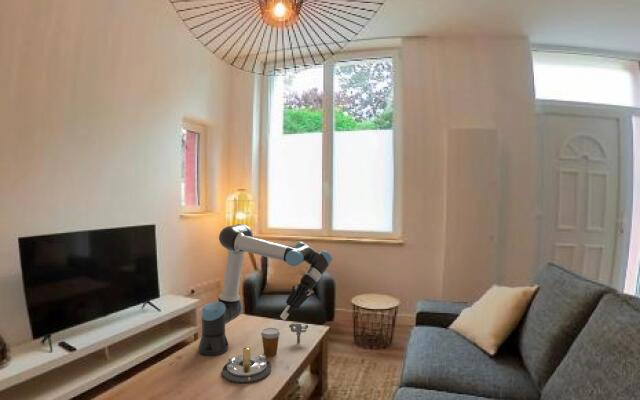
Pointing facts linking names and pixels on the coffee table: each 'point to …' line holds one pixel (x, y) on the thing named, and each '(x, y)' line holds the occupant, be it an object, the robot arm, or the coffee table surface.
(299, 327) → the mechanical component
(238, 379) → the base plate
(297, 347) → the coffee table surface
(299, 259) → the robot arm
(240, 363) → the lugged metal disc
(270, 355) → the disposable coffee cup
